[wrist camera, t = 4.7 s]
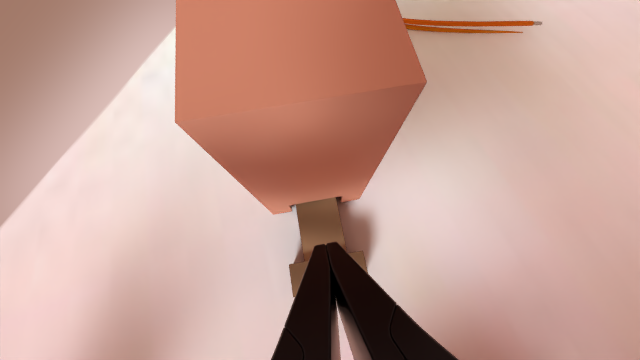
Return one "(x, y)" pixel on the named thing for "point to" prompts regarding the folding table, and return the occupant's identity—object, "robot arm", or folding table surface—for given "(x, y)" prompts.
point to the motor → (464, 23)
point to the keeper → (295, 91)
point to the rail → (319, 234)
